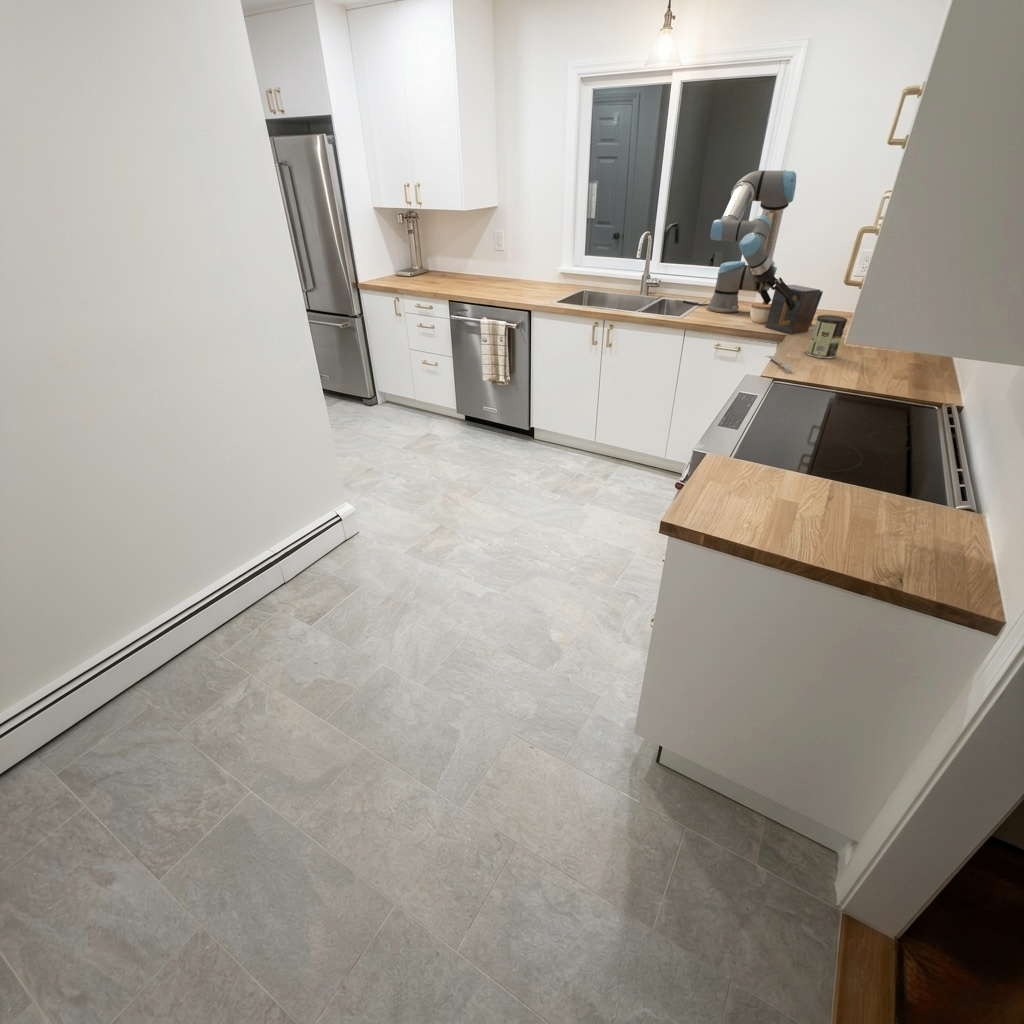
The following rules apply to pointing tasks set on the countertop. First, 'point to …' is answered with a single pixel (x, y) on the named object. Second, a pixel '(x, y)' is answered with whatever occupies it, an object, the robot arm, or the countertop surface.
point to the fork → (781, 363)
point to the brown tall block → (817, 304)
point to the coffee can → (826, 336)
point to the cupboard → (805, 308)
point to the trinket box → (760, 312)
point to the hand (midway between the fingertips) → (780, 305)
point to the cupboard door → (783, 312)
